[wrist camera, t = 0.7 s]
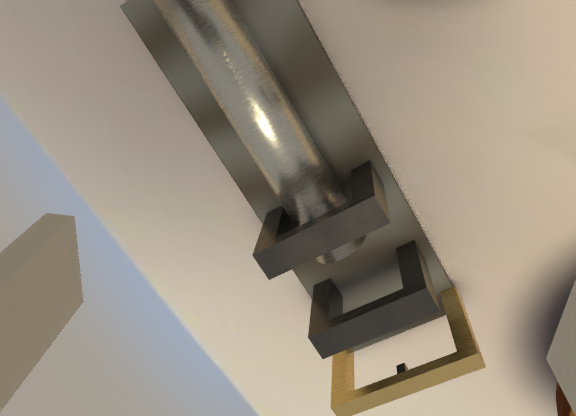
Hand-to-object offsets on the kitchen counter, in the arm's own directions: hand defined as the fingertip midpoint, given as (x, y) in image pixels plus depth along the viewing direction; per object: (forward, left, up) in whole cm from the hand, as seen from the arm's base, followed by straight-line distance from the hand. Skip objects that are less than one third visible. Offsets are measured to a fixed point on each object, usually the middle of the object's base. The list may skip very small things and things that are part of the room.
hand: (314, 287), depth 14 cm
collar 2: (+13, -4, -23) cm, 27 cm away
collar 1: (+6, -4, -23) cm, 24 cm away
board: (+3, -4, -24) cm, 25 cm away
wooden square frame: (+17, -4, -23) cm, 29 cm away
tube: (-1, -4, -23) cm, 23 cm away
